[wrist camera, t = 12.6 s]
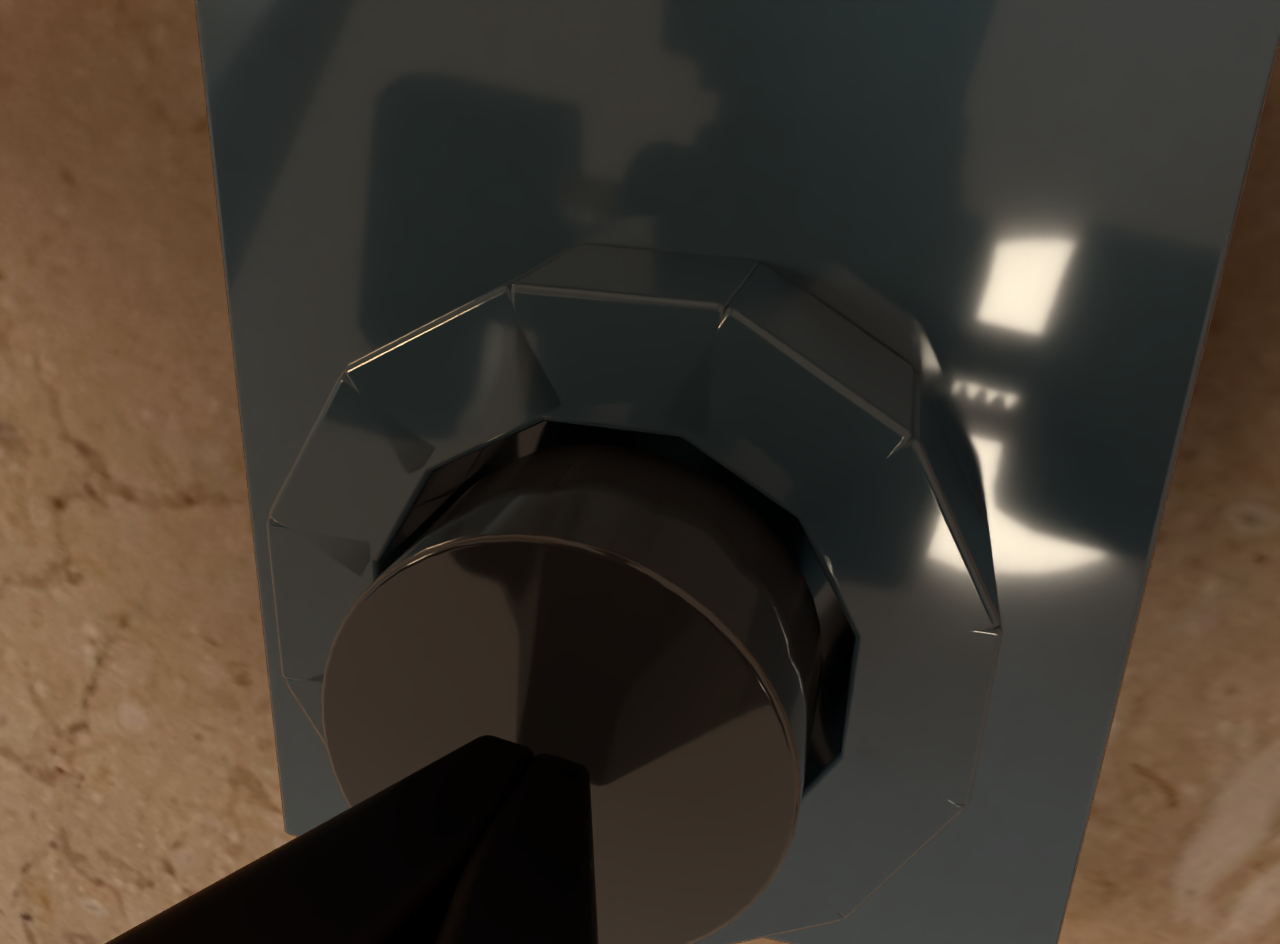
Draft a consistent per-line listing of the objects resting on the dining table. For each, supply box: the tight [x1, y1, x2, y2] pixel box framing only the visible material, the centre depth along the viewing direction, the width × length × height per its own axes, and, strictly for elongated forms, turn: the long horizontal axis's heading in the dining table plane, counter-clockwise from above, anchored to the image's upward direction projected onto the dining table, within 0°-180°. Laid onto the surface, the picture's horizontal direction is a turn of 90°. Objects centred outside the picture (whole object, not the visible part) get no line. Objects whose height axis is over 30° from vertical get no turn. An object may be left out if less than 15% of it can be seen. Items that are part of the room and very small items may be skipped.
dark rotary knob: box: [321, 444, 823, 944], centre depth 9 cm, size 4×4×2 cm
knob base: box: [195, 0, 1280, 944], centre depth 11 cm, size 12×10×4 cm
